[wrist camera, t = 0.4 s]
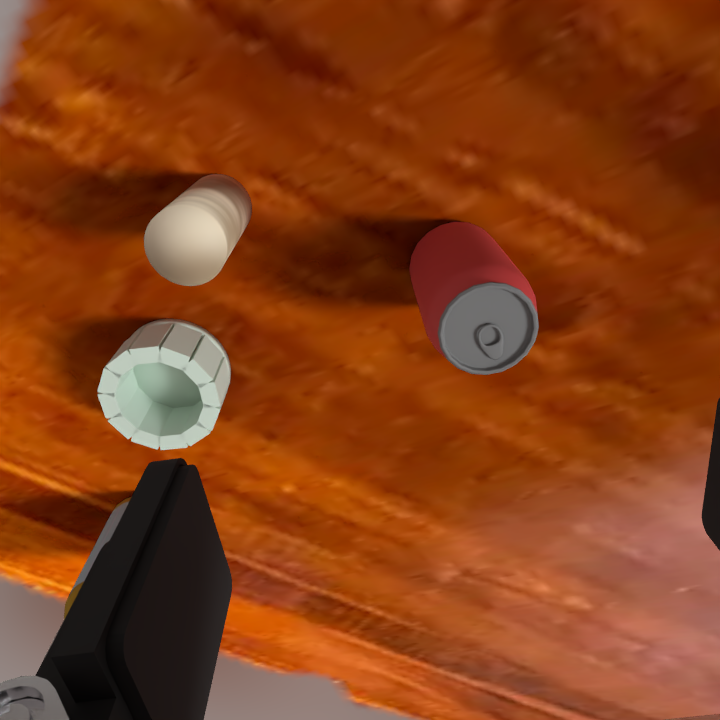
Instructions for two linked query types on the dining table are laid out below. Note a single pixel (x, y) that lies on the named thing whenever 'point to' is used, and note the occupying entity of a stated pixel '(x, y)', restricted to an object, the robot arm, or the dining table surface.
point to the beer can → (473, 299)
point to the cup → (166, 384)
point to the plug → (198, 230)
